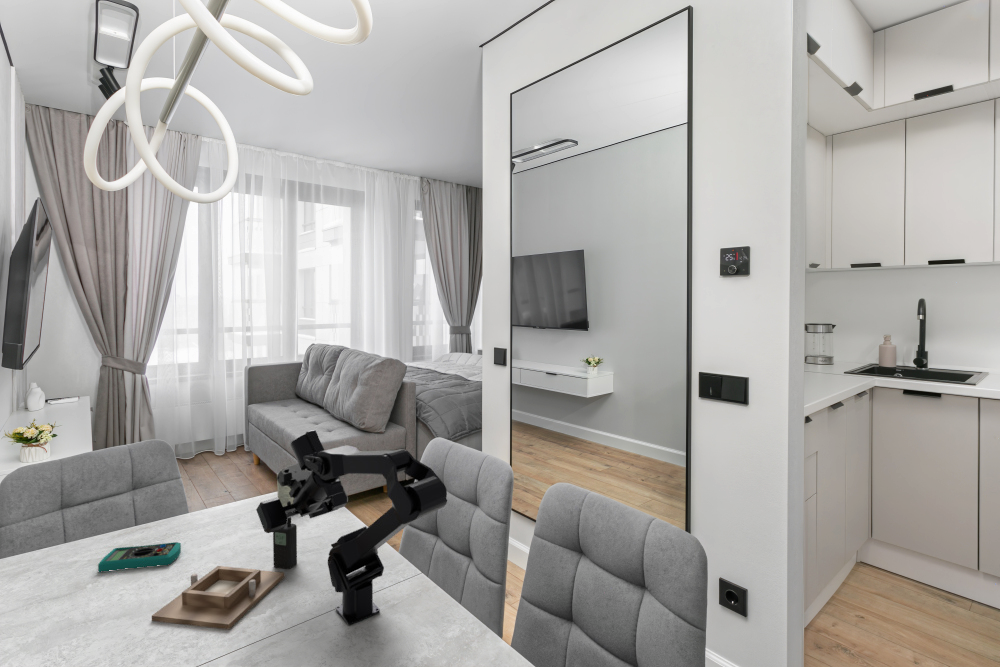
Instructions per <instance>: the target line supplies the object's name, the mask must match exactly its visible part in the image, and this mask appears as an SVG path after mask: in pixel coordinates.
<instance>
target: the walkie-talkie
mask: <svg viewBox="0 0 1000 667" xmlns="http://www.w3.org/2000/svg"><path fill="white" fill-rule="evenodd" d="M288 505H291V502H290V501H289V502H287V506H288ZM297 529H298V528H297V524H295V523H292V517H289V518H287V524H286V526H285V528H283V529H281V530H278V531H275V532H272V533H273V534H272V545H273V546H272V549H273V550H272V551H273V557H272V558H273V567H274V568H279V569H284V570H290V569H292V568H293V567H294V566H296V565H297V563H298V547H297V546H298V545H297V544H298V542H297V541H298V540H297V539H298V538H297V535H298V534H297V533H298V532H297Z"/></svg>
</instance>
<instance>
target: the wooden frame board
mask: <svg viewBox="0 0 1000 667" xmlns="http://www.w3.org/2000/svg"><path fill="white" fill-rule="evenodd" d="M285 573H286V572H282V571H281V572H280V571H270V570H261V569H252V568H243V567H232V566H223V565H217V566H216V567H214V568H213V569H211V571H209V572H208V573H206V574H205V575H204V576H202V577H201V578H200V579H199V578H198V573H194V574H191V575H190V586H189V587H187V588H186V589H184V590H183V591H182V592H181V593H180V594H179V595H178V596H177V597H175V598H173V599H172V600H171V601H170V602H169V603H167V604H166V605H164V606H162V608H160V609H159V610H157V611H156V612H154V613H153V614H152V615H151V622H160V623H166V624H167V623H168V624H174V625H175V624H176V625H184V626H185V625H186V626H195V627H203V628H210V629H211V628H212V629H219V630H220V629H222V630H228V631H229V630H230V629H231V628H232V627H234V626H235V625H236V623H238V622H239V621H240V620H241V619H242V618H243V617H244V616H246V614H247V613H248V612H249V611H250V610H251V609H253V607H255V606H256V605H257V604H258V603H259V602H260V601H261V600H262V599H263V598H264V597H265V596H266V595H267V594H268V593H269V592H270V591H271V590H273V589H274V588H275V587H276V586H277V585H278V584H280V582H281V581H282V580H283V579H284V578H285V576H286V575H285Z"/></svg>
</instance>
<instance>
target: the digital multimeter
mask: <svg viewBox="0 0 1000 667" xmlns="http://www.w3.org/2000/svg"><path fill="white" fill-rule="evenodd" d="M181 552H182V544H181V542H177V541H176V542H166V543H158V544H149V545H146V544H145V545H138V546H126V547H125V546H124V547H114V548H113V549H112V550H111V551H109V553H107V554H106V555H105V556H104V557H103V558H102V559H101V560H100V561H99V563H98V564H97V566H98V567H97V570H98V571H99V572H98V571H97V572H98V573H102V572H101V571H109V570H116V571H118V570H117V569H125V568H134V569H138V568H137V567H144V568H148V567H147V566H154V567H158V566H157V565H166V566H169V565H168V564H170V565H171V564H173V563H174V562H175V561H176V560H177V559H178V558H179V557H180V555H181ZM174 560H175V561H174ZM173 561H174V562H173ZM125 570H126V569H125ZM109 572H110V571H109Z"/></svg>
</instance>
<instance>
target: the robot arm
mask: <svg viewBox="0 0 1000 667" xmlns="http://www.w3.org/2000/svg"><path fill="white" fill-rule="evenodd" d="M289 445H290V448H291V450H292V452H293V454H294V456H295V458H296V461H297V463H295V464H291V465H288V466H286V467H283V468H282V469H281V470H280V471H279V472H278V476H277V475H276V480H277V481H278V482H279V484H280V485H281V486H282V487H283V486H288V487H290V489H291V490H290V492H289V495H290V497H291V498H292V497H293V498H294V499H293V504H291V505H288V506H284V507H283V506H282V504H281V501H280V499H279V498H278V496H277V497H274V498H270V499H267V500H264V501H260V502H259V504H258V506H257V508H256V509H255V511H256V513H257V516H258V518H259V521H260V523H261V526H262V529H263V531H264V533H266V534H270V533H273V532H275V531H278V530H281V529H283V528H285V526H286V524H287V518H289V517H291V518H293V517H296V516H298V515H300V517H301V518H302V517H305V516H308V517H309V518H310V519H312V518H317V517H319V516H322V515H323V516H324V515H326V514H328V513H331V512H334V511H337V510H339V509H341V508H344V507H345V506H346V505H347V504H348V501H349V497H348V495H347V492H346V490H345V488H344V486H343V484H342V481H341V477H343V476H346V475H350V474H351V475H382V476H383V477H384V479H385V480H386V494H387V496H388V498H389V499H390V501H391V507H390V508H389V509H388V510H386V512H384V513H383V514H382V515H381V516H380V517H378V518H377V519H376V520H375V521H374V522H373V523H371V525H369V526H368V527H367V526H365V525H364V526H363V527H360V528H359V529H356V530H353V531H351V532H348V533H345V534H344V535H342V536H340V537H339V538H338V539H337V540H336V541H335V542H333V543H331V544H330V546H331V547H332V548H330V550H329V553H328V558H327V567H328V571H329V572H328V573H329V575H330V576H329V577H330V581H331V586H332V587H334V592H336V593H342V604H340V605H337V606H335V611H336V612H337V614H338V615H339V616H340V617H341V618H342V619H343V620H344V621H345V623H346V624H347V625H348V626H349V625H350V626H351V625H354V624H356V623H358V622H360V621H363V620H365V619H367V618H369V617H372V616H375V615H377V614H379V613H380V611H381V610H380V608H379V607H378V605H376V604H375V602H373V591H374V590H373V587H374V585H373V581H374V580H375V579H377V578H379V577H382V576H383V573H384V571H385V566H384V565H383V563H382V562H383V561H381V559H380V556H379V555H378V554H379V550H378V549H380V548H381V547H382V546H383V545H384V544H385V543H387V542H388V541H389V540H390V539H392V538H393V537H395V536H396V535H397V534H399V533H400V532H401V531H402V530H403V529H405V528H406V527H407V526H409V525H410V524H411V523H412V522H413V521H416V520H418V519H420V518H421V519H422V517H424V516H427V515H429V514H431V513H432V514H433V512H436V511H438V510H440V509H443V508H444V507H445V506H446V505H447V502H448V499H447V497H448V496H447V495H448V494H447V493H448V491H447V487H446V485H445V484H444V482H443V481H442V480H441V479H440V478H439V476H438V475H437V473H436V472H434V470H433V469H432V468H431V467H430V466H428V465H426V464H425V463H422V462H421V461H419V460H417V459H415V458H414V456H413V455H412V454H411V452H410V451H409V450H406V449H404V448H400V449H395V450H362V451H361V450H359V449H358V447H356V446H352V445H349V444H346V445H342V446H337V447H334V448H329V449H325V448H324V445H323V444H322V442H321V440H320V438H319V435H318V433H317V431H316V429H313V430H308V431H306V432H305V434H302V435H300V436H299V437H297V438H296V439H294V440H292V441H291V442H290V444H289ZM403 472H404V474H406V475H407V476H408V477H410V478H413V479H414V480H416V481H415V482H411V483H409V484H407V485H404V486H403V485H402V484H401V483H400V481H399V480H398V474H400V473H403ZM277 481H276V482H277Z"/></svg>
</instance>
